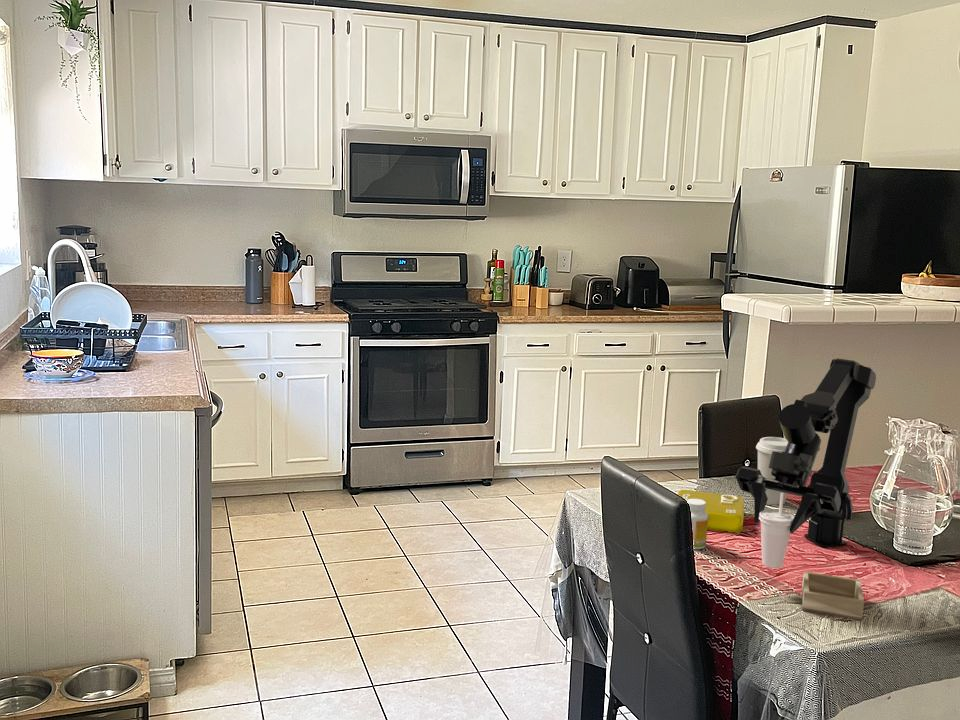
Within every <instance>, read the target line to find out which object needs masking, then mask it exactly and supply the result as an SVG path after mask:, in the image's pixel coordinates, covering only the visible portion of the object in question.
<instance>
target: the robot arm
mask: <svg viewBox="0 0 960 720" xmlns="http://www.w3.org/2000/svg"><path fill="white" fill-rule="evenodd" d="M876 375H877V374H876V373H875V371H874V370H873V369H872V368H871V367H869V366H865V365H863V364H860V363H859V362H858V361H855V360H853V359H845V358H839V357H838V358H837V357H836V358H833V359H832V360H831V362H830V365H829V369H828V370H827V372H826V374H825V375H824V377H823V378H822V379H821V381H820V383H819V384H818V385H817V387H816V389H815V390H814V392H812V393H809V394H806V395H804V396H802V397H801V399H795V401H794V403H791V404H788V405H786V406H785V407H783V408H782V409H781V410H780V411H779V413H778V421H779V424H780V428H781V430H782V433H783V436H784V439H786V440H787V441H788V444H787V446H786V449H785V452H782V453H780V452H775V451H772V455H771V459H770V463H769V468H771V469H772V471H771V474H772V476H775V478H774V480H773V479H768V478H765V477H763V476H762V474H761V471H760V470H758V468H754V467H747V466H741V467H740V468H738V469H737V472H736V474H735V479H736V481H737V484H738V486H739V489H740V490H741V491H742V492H745V493H747V494H751V496H752V498H753V499H754V501H753V503H754V518H753V519H754V524H755V525H758V524H759V523H760V522H761V521H760V520H759V513H760V512H761V511H763V510H765V509H766V506H767V504H766V503H767V500H768V498H767V495H766V493H765V492H766V491H767V489H771V490H775V491H780V492H784V493H787V495H788V494H789V495H793V496H798V497H801V500H800V504H799V506H798V508H797V511H796V512H795V516H794V519H793V521H792V524H791V527H790V534H794V533H795V532H797V530H798V529H799V528H801V526H803V524H804V523H806V522H807V521H808V529H807V533H804V538H806V539H807V540H809V541H811V542H812V543H814V544H816V545H818V546H819V547H822V548H826V547H828V548H829V547H837V546H838V547H840V546H847V545H848V542H847V541H845V540H843V536H844V526H845V522H846V521H851V520H852V519H853V518H852V517H853V508H854V506H853V502H852V500H851V499H852V497H851V495H850V493H849V492H850V485H849V482H848V480H847V476H846V474H845V472H846V466H847V462H848V459H849V454H850V453H849V452H850V449H851V445H852V441H853V440H852V439H853V435H854V430H855V426H856V421H857V417H858V412H859V409H860V407H861V406H862V405H863V404H864V403H866V401H867V400H869V399H870V395H871V392H872V390H873V389H874V388H875V385H876V382H877V376H876ZM818 433H821V434H828V433H829V436H828V440H827V444H826V449H825V452H824V458H823V461H822V467H820V469H818V471H816V472H815V471H814V472H813V467H814V463H815V460H816V458H817V455H818V453H819V451H820V449H821V444H822V439H821V436H819V434H818ZM809 478H810V481H809V482H810V483H809V484H807V482H808V480H809Z"/></svg>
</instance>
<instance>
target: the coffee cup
mask: <svg viewBox="0 0 960 720" xmlns="http://www.w3.org/2000/svg"><path fill="white" fill-rule="evenodd" d="M787 444H788V441H787V440H786V439H785V437H784V438H783V437H777V436H766V437H761V438H760V439H759V441H758V442H757V444H756V446H755V449H756V450H757V469H758V470H760V471H761V474H762V476H763V477H765V478H768V479H773V480H774V478H775V476H772V474H771V471H772V469H771V468H769V463H770V459H771V455H772V451H775V452H780V453H782V452H785V449H786V446H787ZM765 493H766V495H767V498H768V500H767V503H766V505H772V506H780V496H781V493H784V492H780V491H775V490H771V489H767V491H766V492H765ZM787 495H788V493H784V498H783V505H785V503H786V501H787V500H786V499H787Z"/></svg>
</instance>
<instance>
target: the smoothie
mask: <svg viewBox="0 0 960 720" xmlns="http://www.w3.org/2000/svg"><path fill="white" fill-rule="evenodd" d="M783 498H784V493H781V496H780V505H778V507H779V508H778V509H764V510H763V511H761V512H760V513H759V520H760V521H759V522H760V541H761V542H760V544H761V548H760V549H761V564H762V565H763V566H765V567H768V568H770V569H780V568H782V567H783V565H784V562H785V557H786V552H787V549H788V545H789V541H790V537H791V536H790V535H791V533H790V527H791V524H792V521H793V519H794V517H795V516H794V515H793V514H791V513H790V512H787V511H784V510H783V507H784V506H783V505H784V504H783Z"/></svg>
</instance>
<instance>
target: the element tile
mask: <svg viewBox="0 0 960 720" xmlns="http://www.w3.org/2000/svg"><path fill="white" fill-rule="evenodd" d="M677 495H679V496H681V497H683V498H684V499H685V500H686V501H687V500H688V499H700V500H703V501H705V502H706V508H705V510H704V511H706V512H707V514H708V526H707V531H708V530H710V531H715V530H717V532H723V531H728V532H727V533H731V532H740V533H741V531H742V532H743V528H744V527H743V526H744V518H745V516H744V512H745V510H744V509H745V508H744V507H745V505H744V504H745V503H744V501H745V499H744V498H743V497H742V496H739V495H734V494H725V493H716V492H707V491H701V490H700V491H698V490H691V489H681V490H678V492H677Z"/></svg>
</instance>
